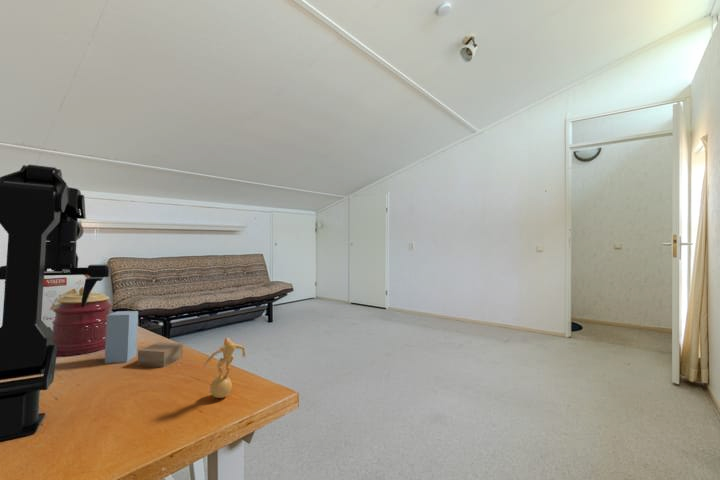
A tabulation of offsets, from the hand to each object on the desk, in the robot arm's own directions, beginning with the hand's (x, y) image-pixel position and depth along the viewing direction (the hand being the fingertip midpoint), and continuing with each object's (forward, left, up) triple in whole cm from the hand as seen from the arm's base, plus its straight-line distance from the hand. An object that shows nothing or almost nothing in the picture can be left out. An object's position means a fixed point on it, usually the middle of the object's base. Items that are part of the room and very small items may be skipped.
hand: (57, 308), depth 74 cm
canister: (+19, -3, -15) cm, 24 cm away
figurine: (-34, -30, -15) cm, 48 cm away
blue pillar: (+3, -12, -15) cm, 19 cm away
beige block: (-4, -21, -15) cm, 26 cm away
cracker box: (+34, +3, -15) cm, 37 cm away
